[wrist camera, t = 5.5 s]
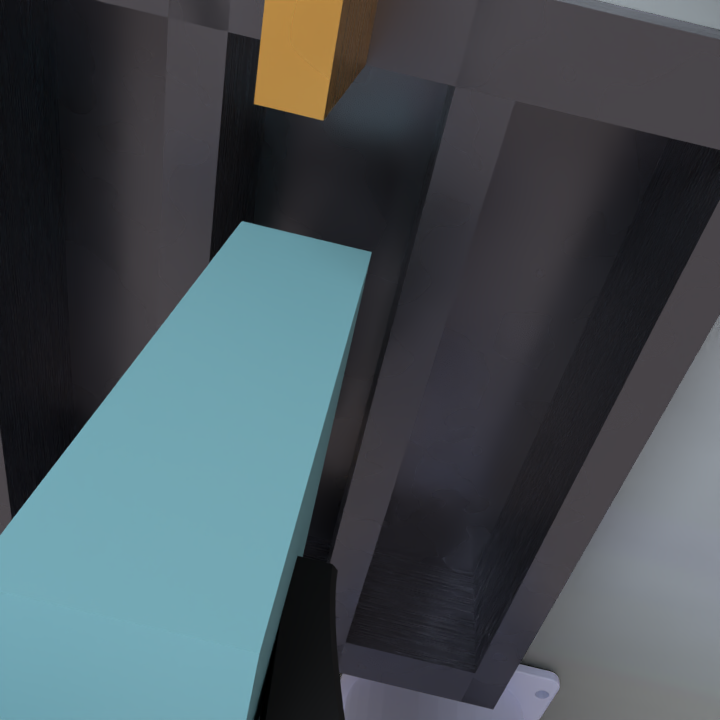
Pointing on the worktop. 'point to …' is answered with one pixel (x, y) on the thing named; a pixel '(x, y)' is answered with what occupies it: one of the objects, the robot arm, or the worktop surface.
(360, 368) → the rack
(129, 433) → the block
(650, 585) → the worktop surface
